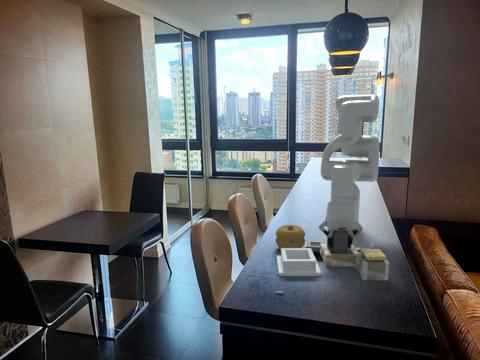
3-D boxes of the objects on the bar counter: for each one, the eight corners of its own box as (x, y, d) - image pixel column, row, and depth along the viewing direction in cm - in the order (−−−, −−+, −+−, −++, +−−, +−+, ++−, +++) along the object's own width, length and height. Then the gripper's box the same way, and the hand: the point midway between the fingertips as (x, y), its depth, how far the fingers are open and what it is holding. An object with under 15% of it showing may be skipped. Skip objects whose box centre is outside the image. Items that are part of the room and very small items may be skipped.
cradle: (276, 258, 132) (276, 246, 131) (314, 258, 131) (314, 246, 130) (279, 276, 118) (279, 263, 117) (321, 276, 118) (321, 262, 117)
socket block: (319, 252, 136) (320, 238, 135) (366, 252, 135) (367, 237, 134) (332, 280, 115) (332, 263, 113) (388, 280, 114) (389, 263, 113)
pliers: (372, 240, 144) (377, 254, 130) (372, 243, 145) (376, 258, 131) (347, 238, 147) (349, 252, 133) (347, 241, 147) (349, 256, 133)
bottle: (345, 256, 133) (346, 218, 130) (349, 262, 127) (350, 223, 124) (329, 256, 133) (330, 218, 130) (332, 262, 127) (334, 223, 124)
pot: (297, 257, 133) (298, 232, 130) (270, 251, 139) (270, 227, 137) (309, 246, 142) (310, 223, 140) (283, 241, 148) (283, 218, 146)
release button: (359, 265, 121) (360, 249, 120) (378, 265, 120) (379, 248, 119) (365, 274, 114) (366, 256, 113) (385, 274, 114) (386, 256, 113)
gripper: (362, 196, 129) (360, 242, 132) (315, 197, 129) (314, 243, 133) (369, 202, 121) (366, 250, 125) (318, 202, 122) (317, 251, 126)
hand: (339, 246), depth 129 cm, fingers open, 6 cm apart
